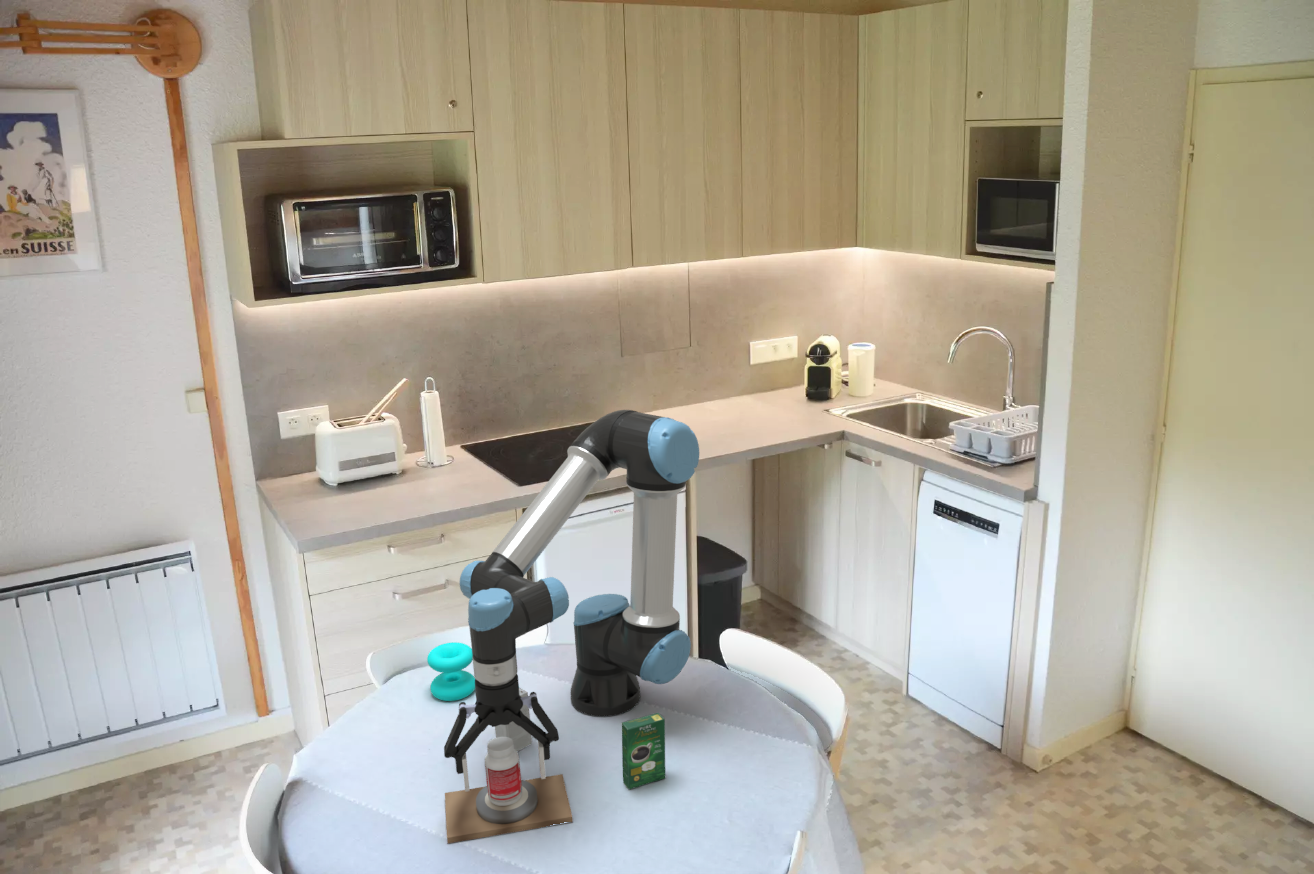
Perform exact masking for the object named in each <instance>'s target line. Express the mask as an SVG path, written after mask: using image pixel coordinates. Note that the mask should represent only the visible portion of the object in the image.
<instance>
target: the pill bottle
mask: <svg viewBox="0 0 1314 874" xmlns="http://www.w3.org/2000/svg"><path fill="white" fill-rule="evenodd" d="M486 748H487V749H486V750H487V753H486V755H485V757H484V769H485V776H486V777H485V780H486V786H487V789H488V797H489V800H490V801H491V802H492V803H493V804H495V805H498V806H507V805H511V804H513V803H515V802H517V801H518V800H519V799H520V798H521V796H522V782H521V780H522V774H521V773H522V772H521V764H520V763H521V761H520V755H519V753H518V752H517V751H516V750H515V749H514V743H513V740H512V739H511V738H509V737H497V738H496V737H494V738H492V739H490V740H489V741H488V742H487V745H486Z"/></svg>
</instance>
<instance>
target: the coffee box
mask: <svg viewBox="0 0 1314 874" xmlns="http://www.w3.org/2000/svg"><path fill="white" fill-rule="evenodd" d="M665 726H666V720H665V718H664V717H663V716H662V715H661V714H660V713H659V712H655V713H652V714H649V715H645V716H642V717H638V718H633V719H631V720H627V721H623V722H621V753H622V755H621V759H622V762H621V763H622V783H623V786H625V788H626V789H627V790H631V789H637V788H640V787H642V786H645V785H648V784H652V783H653V782H654V783H655V782H658V781H660V780H663V779H666V727H665Z"/></svg>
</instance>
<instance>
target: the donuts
mask: <svg viewBox="0 0 1314 874" xmlns="http://www.w3.org/2000/svg"><path fill="white" fill-rule="evenodd" d="M472 656H473V654H472V646H470V645H468V644H465V643H463V642H457V641H456V642H447V643H446V642H445V643H442V644H440V645H438V646H435V647H434V648H432V649H431V650H430V651H429V653H428V655H427V658H426V659H427V660H426V661H427V665H428V666H429V667H430V668H431V669H432V670H434V671H436V672H438V673H439V674H438V675H437V676H435V677H434V679H432V681H431V683H430V688H429V689H430V692H431V695H432V696H433V697H434V698H436V699H438V700H441V701H444V702H446V701H447V702H455V701H459V700H463V699H465V698H467V697H469V696H470V695H472V694H473V693H474V691H476V690H475V677H474V674H472V673H471V672H469V671H466V670H464V669H465V668H467V667H468V666H470V664H471V663H473V658H472Z"/></svg>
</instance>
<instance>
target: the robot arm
mask: <svg viewBox="0 0 1314 874" xmlns="http://www.w3.org/2000/svg"><path fill="white" fill-rule="evenodd" d="M699 461H700V445H699V441H698V438H697V436H696V434H695V432H694V431H693V430H692V428H690V426H689V425H687V424H686V423H684V422H682V421H679V420H675V419H674V418H671V417H665V416H661V415H655V414H649V413H644V412H641V411H637V410H632V409H618V410H615V411H612V412H609V413H607V414H605V415H603V416H602V417H600V418H598V419H596V420H594V422H592V423H591V424H590V425H589V426H587V427H586V428H585V429H584V430H583V431H582V432H581V433H580V434H579V435H578V436H577V437H576V439H575V440H573V442H572V443H571V444H570V445H569V447H568V448H567V458H566V459H565V460H564V461H563V463H561V464H560V466H559V468H558V469H557V470H556V471H555V473H554V474H553V475H552V476H551V478H549V480H548V482H547V483H546V484H544V485H545V486H543V488H541V490H540V491H539V492H538V494H537V495H536V497H535V498H534V499H533V500H532V502H531V503H530V504H529V505H528V507H527V508H526V509H525V511H524V512H523V513H522V515H520V517H518V519H517V521H516V522H515V523H514V524H513V526H512V527H511V528H510V529H509V530H508V532H507V533H506V534H505V535H504V537H503V538H502V540H501V541H500V542H499V543H498V545H497V546H496V547H495V548H494V550H492V552H491V554H490V555H489V556H488V557H487V558H486V559H485V560H475V561H472V562H470V563H468V564H467V565H465V567H464V568H463V570H462V572H461V574H460V576H459V588H460V591H461V593H462V595H463V596H464V597H465V598H467V599H469V600H468V604H467V605H468V609H467V612H468V616H467V617H468V618H467V622H468V626H469V636H470V643H471V646H470V647H471V649H472V654H473V656H472V658H473V660H472V666H473V676H474V677H475V690H474V691H475V698H476V700H475V703H474V704H466V702H465V701H461V702H460V703H459V705H458V714H457V717H456V719H455V720H454V721H455V722H454V724H453V726H452V728H451V730H450V733H449V734H448V738H447V740H446V742H445V743H444V747H443V752H444V753H443V755H444V758H446V759H450V758H452V759H454V761H455V767H456V768H455V770H456V773H457V774H458V775H459V774H463V782H464V784H463V785H464V790H465V792H466V791H470V790H469V789H470V782H469V770H468V760H467V751H468V750H469V749H470V747H472V745H473V744H474V743H475V742H476V740H477V739H478V737H479V736H480V734H481V733H482V732H485V730H486V729H487V728H488V726H491V728H495V726H498V725H509V723H511V722H512V721H513V722H514V723H515V724H517V725H518V726H521V727H522V728H523V729H524V730H525V731H527V732H528V733H529V734H530V735H531V736H532V738H534V739H535V740H537V748H538V749H537V751H538V765H539V773H540V778H541V779H546V777H547V776H546V764H545V761H547V760H550V758H551V749H550V748H551V743H553V742H558V741H559V740H560V736H559V731H558V729H557V727H556V725H555V723H553V721H552V720H551V719H550V717H549V716H548V714H547V712H546V711H545V710H544V708H543V707H542V706H541V704H540V702H539V700H538V695H537V692H535V691H531V692H530V693H529V695H528V696H526V697H522V698H521V696H520V695H519V688H520V685H519V684H520V683H519V675H518V660H517V648H516V647H517V645H516V643H517V642H516V641H517V640H516V639H517V638H519V637H521V636H524V635H526V634H527V633H530V632H532V631H534V630H537V629H538V628H541V627H543V626H545V625H547V624H551V623H553V622H554V620H556V619H558V618H560V617H561V616H563V615H565V614H566V613H567V612H568V610H569V606H570V600H569V598H570V597H569V592H568V591H567V588H566V586H565V585H564V584H563V582H561V580H559V579H558V578H556V577H553V576H549V577H545V578H541V579H538V581H533V580H531V579H528V578H525V575H526V574H527V572H528V571H529V570H530V568H531V567H532V566H533V565H534V564H535V563H536V561H537V560H538V559H539V557H540V556H541V555H542V553H543V552H544V551H545V549H546V548H547V546H549V544H550V543H551V542H552V540H553V539H554V538H555V536H556V535H557V534H558V532H559V531H561V529H562V527H563V526H564V525H565V523H566V522H567V521H568V519H569V518H570V517H571V516H572V514H573V513H574V512H575V511H576V509H577V508H578V507H579V506H580V505H581V503H582V501H583V500H584V499H585V497H587V495H588V494H589V493H590V492H591V490H592V489H593V487H594V486H595V485H596V484H597V482H598V481H601V480H602V481H604V480H605V479H607V478H608V476H609V475H610V474H611V472H612V471H614V470H615V469H618V468H619V469H620V468H621V469H625V470H626V483H625V484H626V486H627V487H628V488H629V489H630V491H632V492H633V507H632V508H633V511H632V514H633V515H632V542H631V544H632V545H631V576H630V602H629V600H628V598H627V597H626V596H624V595H622V594H617V593H603V594H598V595H594V596H589V597H588V598H587V597H586V598H584V599H583V600H581V601H580V602H579V603H578V604H576V606H575V608H574V612H573V622H572V623H573V629H574V632H573V633H574V641H575V655H576V656H575V657H576V670H575V674H574V676H573V679H572V684H571V687H570V703H571V705H572V707H573V708H574V709H575V710H576V711H578V712H580V713H582V714H584V715H587V716H592V717H593V716H594V717H612V716H617V715H618V716H619V715H621V714H624V713H627V712H628V711H630V710H632V709H634V708H636V706H637V705H638V704H639V702H640V701H641V685H640V682H639V680H638V678H640V679H641V680H643V681H646V682H650V683H653V684H656V685H663V684H667V683H669V682H671V681H673V680H674V679H675V678H676V677H677V676H678V675H679V674H681V672H682V670H683V669H684V667H685V666H686V665H687V662H688V660H689V657H690V655H691V653H690V652H691V650H692V647H691V645H692V642H691V638H690V636H688V633H686V632H685V631H683V630H682V629H680V624H681V623H680V621H681V620H680V619H681V616H680V613H679V611H678V610H677V609H676V608H675V607H674V606H673V605H674V585H675V583H674V582H675V580H674V579H675V563H676V561H675V560H676V559H675V558H676V556H675V555H676V539H677V538H676V535H677V534H676V533H677V515H678V514H677V509H678V508H677V507H678V494H679V493H680V492H681V491H683V490H684V489H685V488H686V483H687V481H688V480H690V479H691V478H692V477H693V476H694V474H695V473H696V470H695V469H696V468H697V467H698V466H699ZM523 705H526V706H527V707H528V708H529V710H532V712H533V714H534V715H535V716H536V718H537V719H538V721H539V722H540V724H541V725H542V726H543V728H544V729H542V728H541V727H540V726H539V725H538V724H536V723H535V722H534V721H532V720H531V718H530V719H529V718H527V717H526V716H525V715H524V714H523V713H522V711H520V710H521V708H522V707H523ZM473 713H475V715H477V717H476V719H475V720H474V723H473V724H472V725H471V726H470V728H469V729H468V730H467V732H465V734H464V735H463V737H462V738H461V739H460V737H461V735H462V732H463V731H464V730H463V729H464V728H465V725H466V722H467V719H469V718H470V717H471V716H472V714H473ZM544 730H545V731H544ZM459 739H460V741H459ZM458 741H459V742H458Z"/></svg>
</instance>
